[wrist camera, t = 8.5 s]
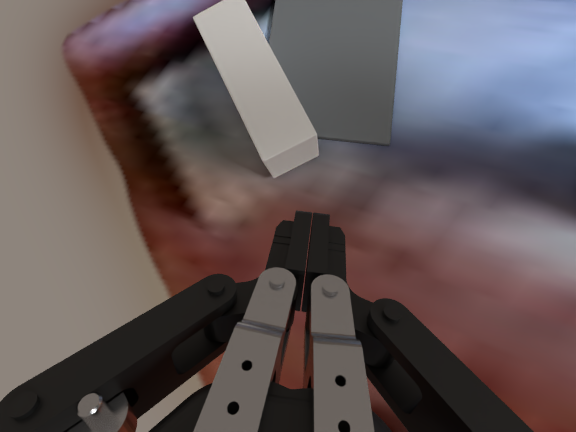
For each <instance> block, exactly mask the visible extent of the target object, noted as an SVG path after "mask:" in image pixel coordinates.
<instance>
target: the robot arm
mask: <svg viewBox="0 0 576 432" xmlns="http://www.w3.org/2000/svg"><path fill="white" fill-rule="evenodd" d="M311 217H312V213H311V212H303V211H296V214H295V219H294V222H293V221H285V220H283V221H282V222H281V223H280V224H279V225H278V226H277V227H276V231H275V235H274V239H273V243H272V246H271V250H270V254H269V258H268V262H267V265H266V269H265V271H264V272H262V273H261V275H260V276H259V277H258V278H257V279H254V280H252V281H248V282H241V283H235V281H234V280H233V279H232V278H231V277H229V276H227V275H223V274H214V275H210V276H208V277H206V278H204V279H202V280H200V281H199V282H197V283H195V284H194V285H192V286H190V287H188V288H187V289H185V290H183V291H182V292H180V293H178V294H176V295H175V296H173V297H171V298H169V299H168V300H166V301H165V302H163V303H161V304H159V305H157V306H156V307H154V308H152V309H151V310H149V311H147V312H146V313H144V314H142V315H140V316H138V317H137V318H135V319H133V320H132V321H130V322H128V323H126V324H125V325H123V326H121V327H120V328H118V329H116V330H114V331H113V332H111V333H109V334H107V335H106V336H104V337H103V338H101V339H99V340H97V341H95V342H94V343H92V344H90V345H89V346H87V347H85V348H83V349H82V350H80V351H78V352H76V353H75V354H73V355H71V356H70V357H68V358H66V359H64V360H63V361H61V362H60V363H58V364H56V365H54V366H52V367H51V368H49V369H47V370H45V371H44V372H42V373H40V374H39V375H37V376H35V377H33V378H32V379H30V380H28V381H27V382H25V383H23V384H21V385H20V386H18V387H17V388H15V389H14V390H12V391H11V392H10V393H9V394H7V395H6V396H5V397H4V398H3V400H2V401H1V402H0V432H135V431H136V427H137V419H138V418H139V417H140V416H142V415H143V414H144V413H146V412H147V411H148V410H150V409H151V408H152V407H153V406H155V405H156V404H157V403H159V402H160V401H161V400H162V399H164V398H165V397H166V396H167V395H169V394H170V393H171V392H173V391H174V390H175V389H177V388H178V387H179V386H180V385H182V384H183V383H184V382H186V381H187V380H188V379H189V378H191V377H192V376H193V375H195V374H196V373H197V372H199V371H200V370H201V369H202V368H204V367H205V366H206V365H208V364H209V363H210V362H211V361H213V360H214V359H215V358H217V357H218V356H219V355H220V354H222V353H223V352H224V351H225V353H224V356H223V358H222V361H221V363H220V366H219V368H218V371H217V373H216V376H215V378H214V381H213V383H211V384H209V385H206V386H205V387H203V388H201V389H199V390H198V391H196V392H195V393H193V394H192V395H190V396H189V397H188V398H187V399H186V400H184V401H183V402H182V403H181V404H180V405H179V406H178V407H176V408H175V409H174V410H173V411H172V412H171V413H170V414H169V415H167V416H166V417H165V418H164V419H163V420H161V421H160V422H159V423H158V424H157V425H156V426H154V427H153V428H152V429H151V430H150V431H149V432H392V431H391V430H390V429H389V427H388V426H387V425H386V424H385V423H384V422H383V420H382V419H381V418H380V417H378V416H377V415H376V414H375V413H374V412H373V411H371V404H370V397H369V390H368V384H367V377H368V379H369V380H370V381H371V383H372V384H373V385H374V387H375V388H376V389H377V390H378V392H379V393H380V394H381V396H382V397H383V398H384V400H385V401H386V402H387V404H388V405H389V406H390V408H391V409H392V410H393V412H394V413H395V414H396V416H397V417H398V418H399V420H400V421H401V422H402V423H403V425H404V426H405V427H406V429H407V430H408V431H409V432H533V431H532V430H531V429H530V428H529V427H528V426H527V425H526V424H525V423H524V422H523V421H522V420H521V419H520V418H519V417H518V416H517V415H516V414H515V413H514V412H513V411H512V410H511V409H510V408H509V407H508V406H507V405H506V404H505V403H504V402H503V401H502V400H500V399H499V398H498V397H497V396H496V395H495V394H494V393H493V392H492V391H491V390H490V389H489V388H488V387H487V386H486V385H485V384H484V383H483V382H482V381H481V380H480V379H479V378H478V377H477V376H476V375H475V374H474V373H473V372H472V371H471V370H470V369H469V368H468V367H467V366H466V365H465V364H463V363H462V362H461V361H460V360H459V359H458V358H457V357H456V356H455V355H454V354H453V353H452V352H451V351H450V350H449V349H448V348H447V347H446V346H445V345H444V344H443V343H442V342H441V341H440V340H439V339H438V338H437V337H436V336H435V335H434V334H433V333H432V332H431V331H430V330H429V329H428V328H426V327H425V326H424V325H423V324H422V323H421V322H420V321H419V320H418V319H417V318H416V317H415V316H414V315H413V314H412V313H411V312H410V311H409V310H408V309H407V308H406V307H405V306H404V305H402V304H401V303H399V302H397V301H395V300H392V299H386V298H384V299H379V300H377V301H375V302H374V303H372V302H370V301H368V300H365V299H363V298H361V297H359V296H357V295H356V294H355V293H353V292H352V291H351V289H350V288H349V286H348V284H347V281H346V254H345V235H344V233H343V232H342V230H341V228H340V227H333V226H329V218H330V215H328V214H320V213H313V220H312V227H311V235H310V242H309V234H310V226H311ZM308 242H309V250H308ZM307 251H308V259H307ZM306 259H307V268H306ZM305 268H306V276H305V285H304V294H303V302H302V311H303V312H306V322H305V329H304V373H303V388H302V389H288V388H286V387H284V386H282V385H280V384H279V380H280V375H281V370H282V366H283V361H284V357H285V352H286V348H287V344H288V339H289V335H290V330H291V326H292V324H293V321H294V314H295V310H296V311H300V306H301V298H302V291H303V283H304V275H305ZM366 376H367V377H366Z"/></svg>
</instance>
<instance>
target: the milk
mask: <svg viewBox="0 0 576 432" xmlns="http://www.w3.org/2000/svg"><path fill="white" fill-rule="evenodd" d="M193 19H194V21H195V23H196V26H197V28H198V30H199V32H200V34H201V36H202V38H203V40H204V42H205V44H206V46H207V48H208V50H209V52H210V54H211V56H212V59H213V61H214V63H215V65H216V67H217V69H218V71H219V73H220V75H221V77H222V79H223V81H224V83H225V85H226V87H227V89H228V92H229V94H230V96H231V98H232V100H233V102H234V104H235V106H236V108H237V110H238V112H239V114H240V116H241V118H242V120H243V122H244V125H245V127H246V129H247V131H248V133H249V135H250V137H251V139H252V141H253V143H254V145H255V147H256V149H257V151H258V153H259V155H260V158H261V160H262V161H263V163H264V165H265V166H266V168H267V169H268V171H269V172H270V174H271V175H272V177H273V178H276V177H278V176H280V175H282V174H284V173H286V172H288V171H290V170H292V169H294V168H296V167H297V166H299V165H301V164H303V163H305V162H307V161H309V160H311V159H313V158H315V157H317V156H319V149H318V139H317V133H316V131H315V129H314V127H313V125H312V124H311V122H310V120H309V118H308V116H307V114H306V112H305V111H304V109H303V107H302V105H301V103H300V101H299V99H298V98H297V96H296V94H295V92H294V90H293V88H292V86H291V85H290V83H289V81H288V79H287V77H286V75H285V73H284V72H283V70H282V68H281V66H280V64H279V62H278V60H277V59H276V57H275V55H274V53H273V51H272V49H271V47H270V46H269V44H268V42H267V40H266V38H265V36H264V34H263V33H262V31H261V29H260V27H259V25H258V23H257V21H256V20H255V18H254V16H253V14H252V12H251V10H250V8H249V7H248V5H247V3H246V1H245V0H223V1H221V2H219V3H217V4H216V5H214V6H212V7H210V8H208V9H206V10H205V11H203V12H201V13H199V14H197V15H196V16H194V17H193Z"/></svg>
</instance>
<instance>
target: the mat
mask: <svg viewBox="0 0 576 432" xmlns="http://www.w3.org/2000/svg"><path fill="white" fill-rule="evenodd" d="M402 2H403V0H275V6H274V13H273V19H272V26H271V33H270V39H269V46H270V47H271V49H272V51H273V53H274V55H275V57H276V59H277V60H278V62H279V64H280V66H281V68H282V70H283V72H284V73H285V75H286V77H287V79H288V81H289V83H290V85H291V86H292V88H293V90H294V92H295V94H296V96H297V98H298V99H299V101H300V103H301V105H302V107H303V109H304V111H305V112H306V114H307V116H308V118H309V120H310V122H311V124H312V125H313V127H314V129H315V131H316V133H317V139H326V140H336V141H346V142H356V143H365V144H375V145H385V146H389V145H390V138H391V127H392V115H393V104H394V93H395V81H396V70H397V59H398V47H399V36H400V25H401V13H402Z"/></svg>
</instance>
